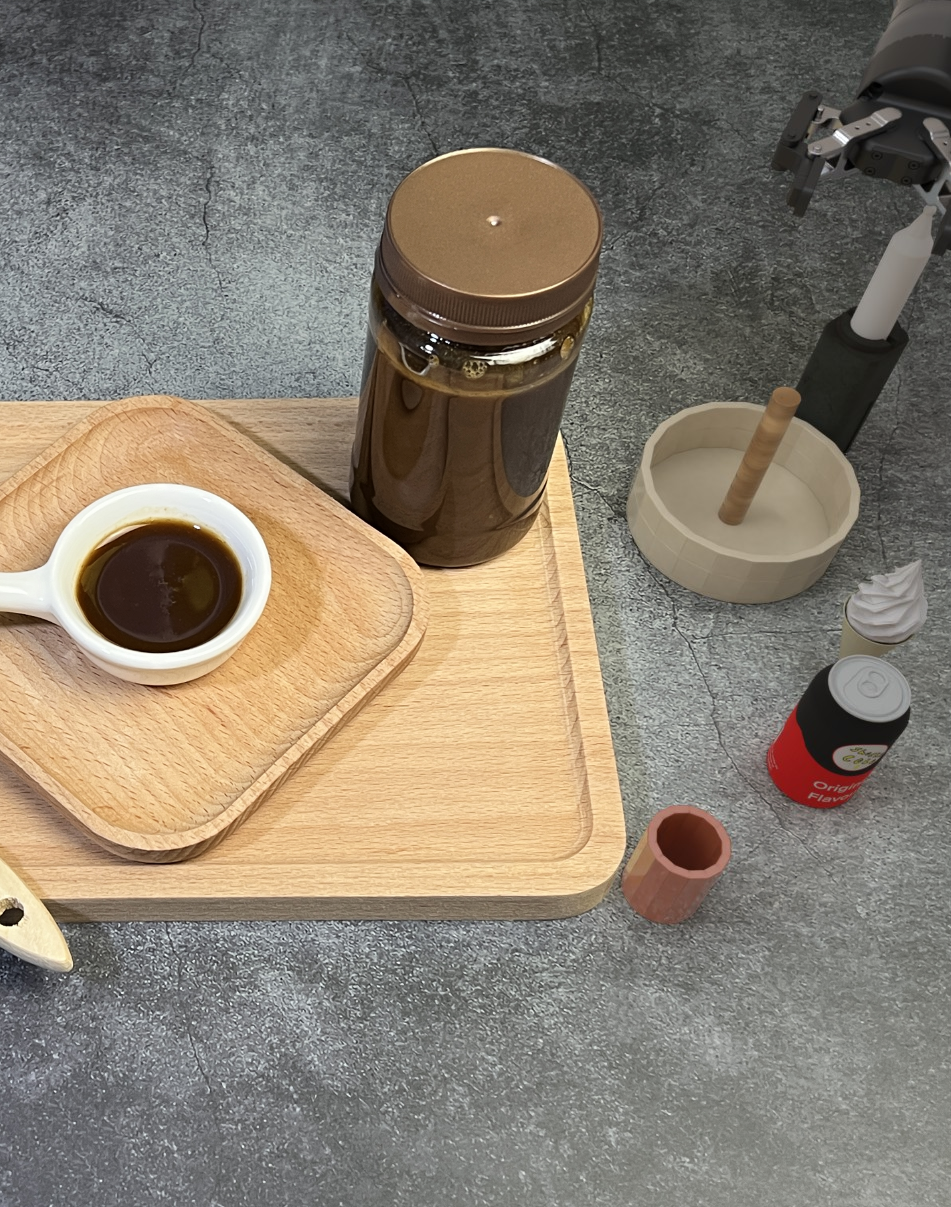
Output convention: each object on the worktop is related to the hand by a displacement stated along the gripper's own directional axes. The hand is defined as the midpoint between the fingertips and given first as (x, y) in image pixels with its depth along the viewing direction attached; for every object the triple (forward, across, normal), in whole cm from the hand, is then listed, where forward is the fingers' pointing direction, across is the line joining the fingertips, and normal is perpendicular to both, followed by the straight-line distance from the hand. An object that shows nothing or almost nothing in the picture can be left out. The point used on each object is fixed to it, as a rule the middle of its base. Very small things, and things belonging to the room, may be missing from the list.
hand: (871, 225), depth 90 cm
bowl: (-2, 0, +32) cm, 32 cm away
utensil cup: (+32, +4, +32) cm, 46 cm away
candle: (-13, +4, +32) cm, 35 cm away
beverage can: (+19, +11, +32) cm, 39 cm away
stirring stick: (-2, 0, +31) cm, 31 cm away
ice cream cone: (+9, +11, +32) cm, 35 cm away
